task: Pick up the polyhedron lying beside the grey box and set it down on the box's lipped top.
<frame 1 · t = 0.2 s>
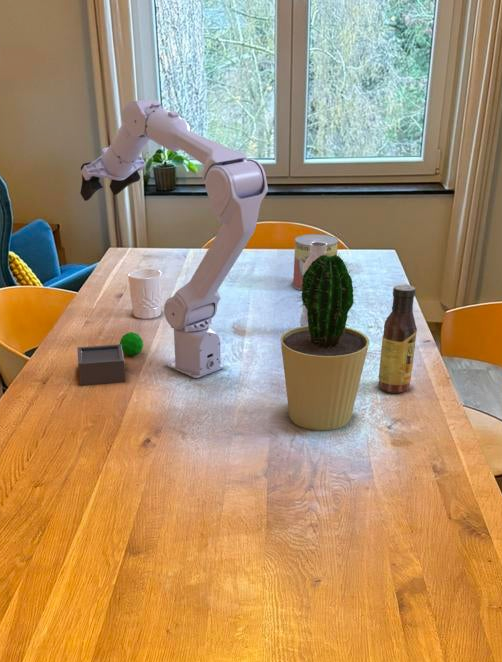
hand: (98, 193, 166), 31 cm above the table, tool tilted 45°, fingers open, 7 cm apart
canned food: (314, 286, 212), on the table
sauce bottle: (393, 388, 157), on the table
grey box: (102, 374, 163), on the table
potted cactus: (319, 417, 147), on the table
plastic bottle: (313, 333, 183), on the table
polyhedron: (132, 355, 172), on the table
white cup: (147, 315, 194), on the table
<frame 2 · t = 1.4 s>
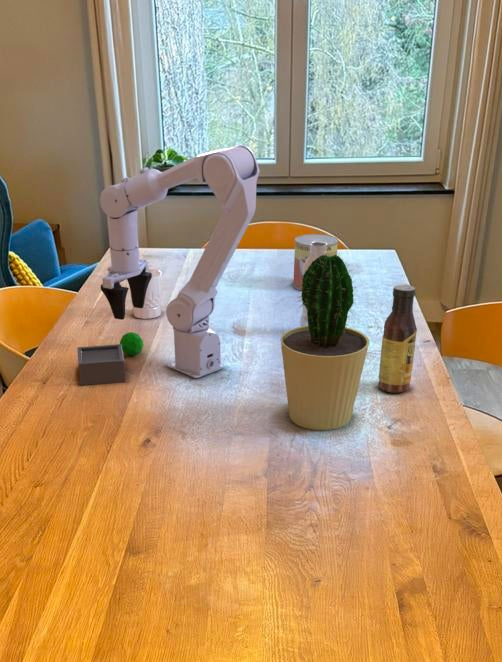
hand: (129, 312, 167), 9 cm above the table, tool pointing down, fingers open, 7 cm apart
nothing on the table moved.
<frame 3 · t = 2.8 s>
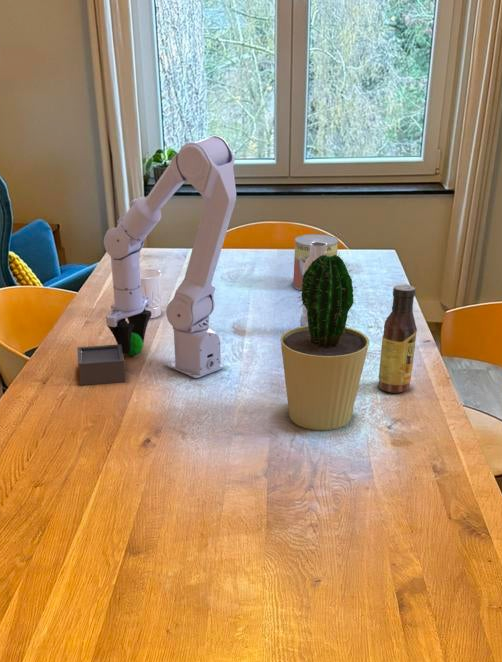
hand: (131, 348, 172), 1 cm above the table, tool pointing down, fingers closed on polyhedron, 5 cm apart
polyhedron: (132, 355, 172), on the table, touching gripper
everything else where it was.
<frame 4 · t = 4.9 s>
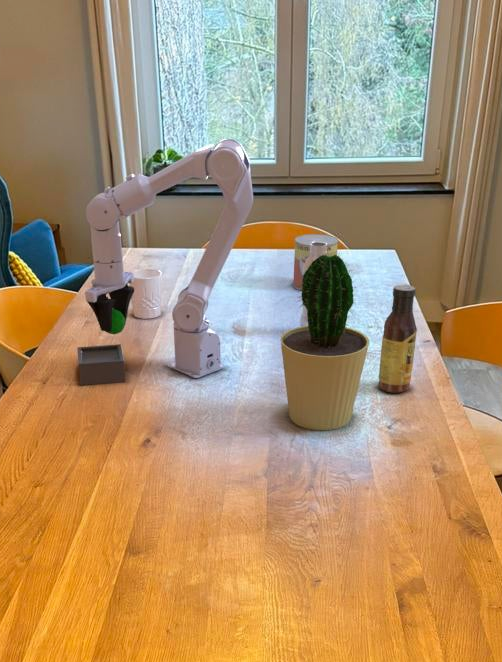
hand: (113, 326, 163), 8 cm above the table, tool pointing down, fingers closed on polyhedron, 5 cm apart
polyhedron: (114, 333, 164), point 7 cm above the table, touching gripper
everything else where it was.
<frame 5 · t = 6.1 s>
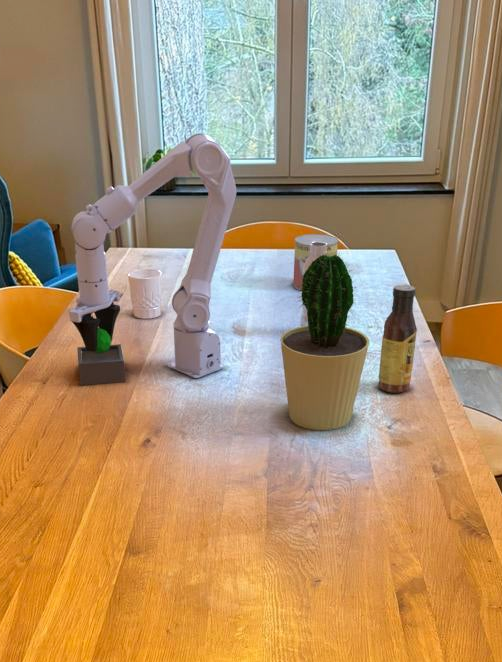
hand: (99, 345, 160), 6 cm above the table, tool pointing down, fingers closed on polyhedron, 5 cm apart
polyhedron: (99, 353, 161), point 5 cm above the table, touching gripper
everything else where it was.
when the fingers open (5 cm above the table, at t = 6.9 s): polyhedron stays where it is, resting on grey box.
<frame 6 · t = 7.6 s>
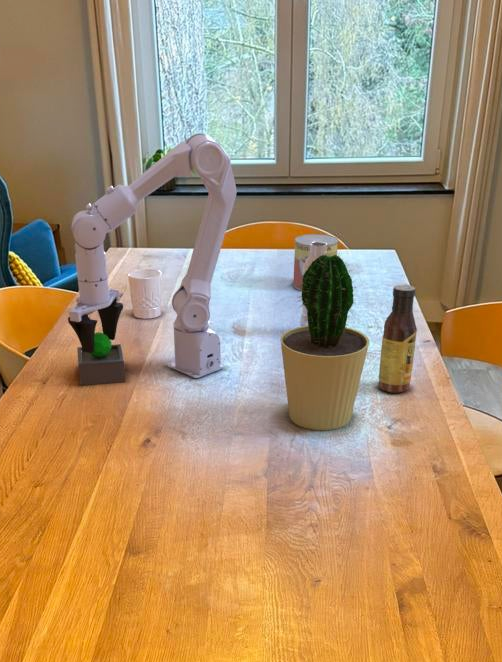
hand: (99, 345, 160), 6 cm above the table, tool pointing down, fingers open, 7 cm apart
grey box: (102, 374, 163), on the table, touching polyhedron
polyhedron: (100, 357, 161), point 4 cm above the table, touching grey box
everything else where it was.
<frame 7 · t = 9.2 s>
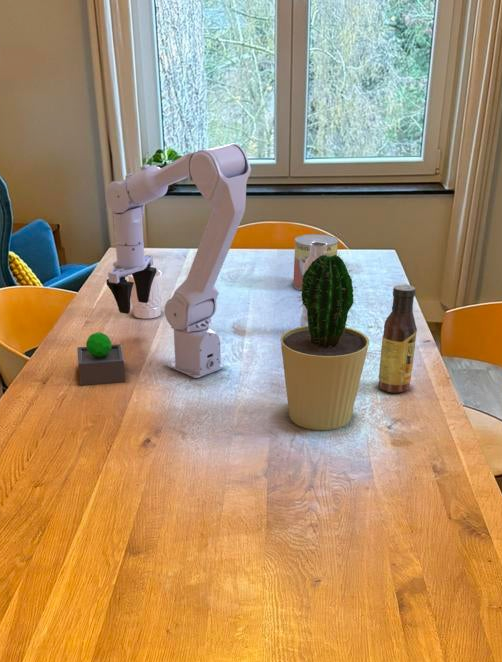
hand: (134, 307, 170), 9 cm above the table, tool pointing down, fingers open, 7 cm apart
nothing on the table moved.
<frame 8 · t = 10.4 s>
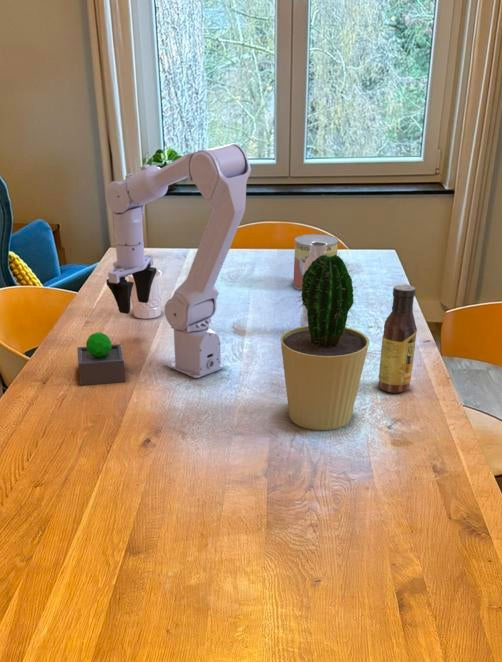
hand: (134, 307, 170), 9 cm above the table, tool pointing down, fingers open, 7 cm apart
nothing on the table moved.
at the end: polyhedron 0.1 cm off-centre on the grey box, point 3.8 cm above the grey box's base; polyhedron touching grey box; the gripper is holding nothing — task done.
